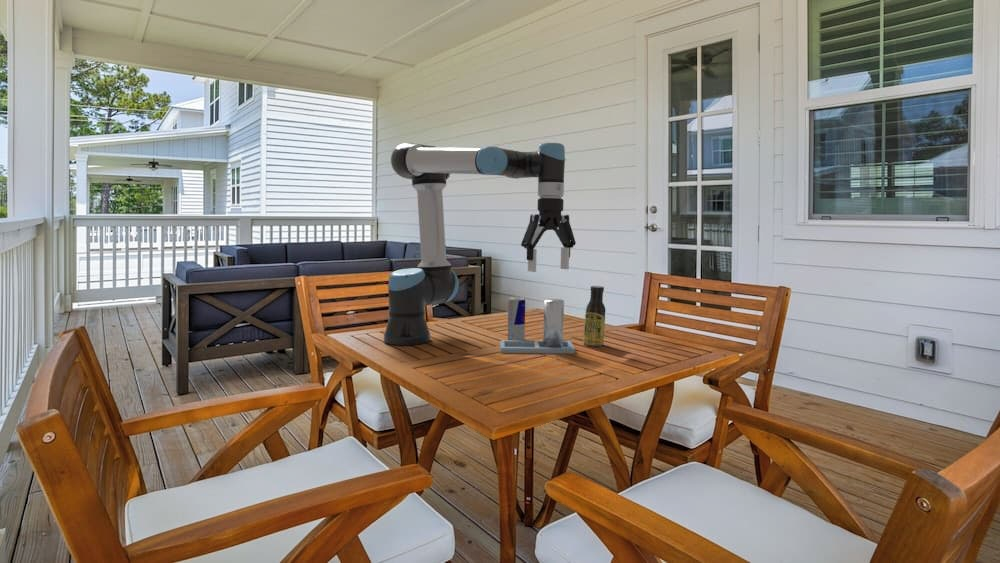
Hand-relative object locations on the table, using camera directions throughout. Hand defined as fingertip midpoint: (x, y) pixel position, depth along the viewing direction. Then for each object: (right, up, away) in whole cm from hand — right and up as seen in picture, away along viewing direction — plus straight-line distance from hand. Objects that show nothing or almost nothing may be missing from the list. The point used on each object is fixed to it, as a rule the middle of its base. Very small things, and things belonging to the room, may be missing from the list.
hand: (548, 270), depth 161 cm
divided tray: (-3, -25, +5) cm, 26 cm away
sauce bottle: (+15, -25, +11) cm, 31 cm away
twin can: (+2, -24, +5) cm, 24 cm away
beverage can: (-9, -24, +17) cm, 30 cm away
